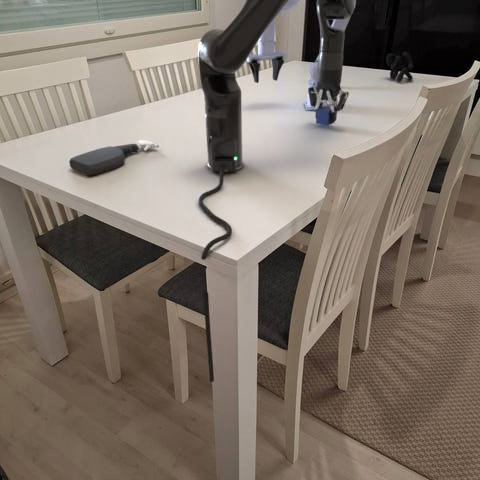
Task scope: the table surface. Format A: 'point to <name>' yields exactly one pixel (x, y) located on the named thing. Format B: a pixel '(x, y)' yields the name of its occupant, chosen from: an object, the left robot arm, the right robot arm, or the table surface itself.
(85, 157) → the spray bottle
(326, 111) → the brick
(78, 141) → the table surface
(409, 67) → the squiggle
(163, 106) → the table surface
